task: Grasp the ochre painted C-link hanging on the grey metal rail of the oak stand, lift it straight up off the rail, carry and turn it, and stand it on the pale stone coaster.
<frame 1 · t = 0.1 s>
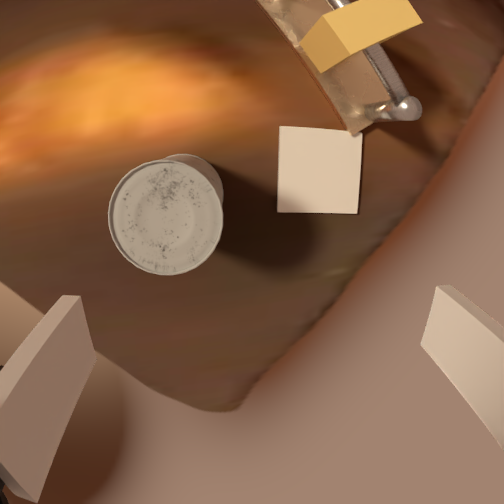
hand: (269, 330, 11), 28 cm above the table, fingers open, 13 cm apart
grey speckled cylinder: (182, 194, 37), on the table
rail stand: (330, 51, 32), on the table
c link: (342, 41, 28), point 4 cm above the table, touching rail stand
coaster: (319, 170, 37), on the table
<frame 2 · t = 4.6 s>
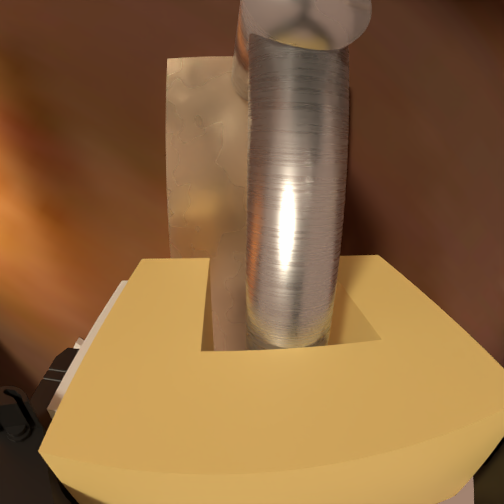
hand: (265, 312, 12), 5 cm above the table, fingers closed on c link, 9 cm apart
rail stand: (253, 263, 17), on the table
c link: (263, 306, 12), point 5 cm above the table, touching gripper, rail stand
when the fingers open (2 cm above the table, at t = 12.5 s): c link drops 1 cm, resting on coaster.
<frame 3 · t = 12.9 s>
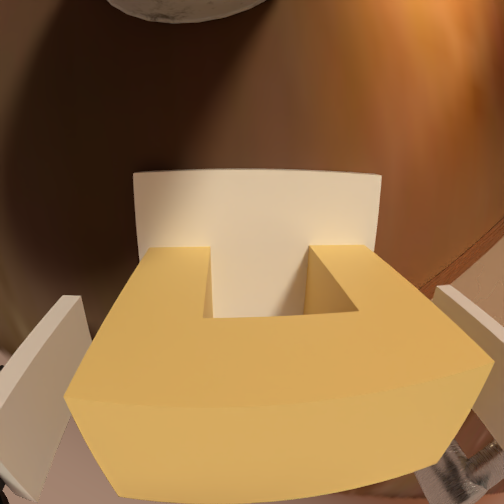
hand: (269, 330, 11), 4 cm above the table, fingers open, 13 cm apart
rail stand: (494, 286, 16), on the table
c link: (259, 290, 14), point 1 cm above the table, touching coaster
coaster: (258, 284, 14), on the table
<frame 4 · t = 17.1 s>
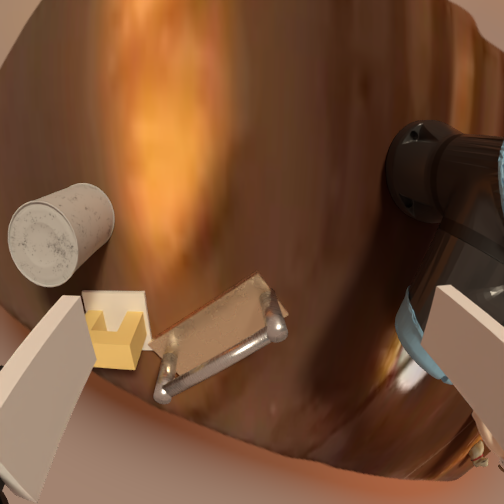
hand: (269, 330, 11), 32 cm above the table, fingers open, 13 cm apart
grey speckled cylinder: (84, 217, 40), on the table
water bottle: (479, 408, 65), on the table
rail stand: (216, 327, 47), on the table
c link: (117, 322, 45), point 1 cm above the table, touching coaster
coaster: (118, 320, 45), on the table
chocolate bunny: (474, 447, 74), on the table
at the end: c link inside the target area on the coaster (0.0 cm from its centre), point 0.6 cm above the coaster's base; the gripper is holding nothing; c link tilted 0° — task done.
